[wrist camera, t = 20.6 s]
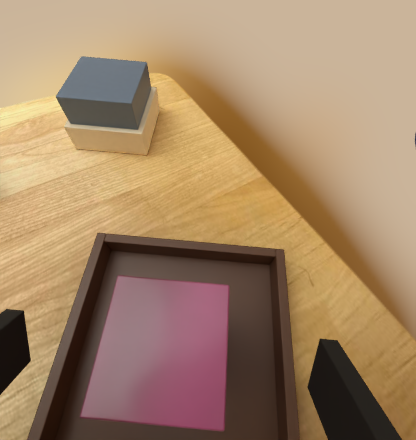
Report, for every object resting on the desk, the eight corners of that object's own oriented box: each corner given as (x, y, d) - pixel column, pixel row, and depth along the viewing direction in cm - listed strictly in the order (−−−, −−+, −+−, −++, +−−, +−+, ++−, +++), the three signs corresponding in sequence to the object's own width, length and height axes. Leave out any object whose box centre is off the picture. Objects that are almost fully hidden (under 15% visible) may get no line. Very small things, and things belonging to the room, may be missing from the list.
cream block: (159, 109, 31) (156, 87, 28) (147, 155, 27) (142, 133, 24) (98, 104, 31) (88, 81, 28) (76, 149, 27) (63, 127, 24)
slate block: (151, 89, 28) (146, 61, 25) (138, 130, 25) (131, 103, 22) (91, 83, 28) (81, 56, 25) (70, 124, 25) (55, 96, 22)
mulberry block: (215, 314, 18) (230, 284, 11) (211, 394, 16) (225, 432, 8) (150, 308, 18) (117, 274, 11) (136, 387, 16) (78, 419, 8)
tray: (275, 260, 21) (284, 249, 19) (290, 504, 14) (308, 532, 12) (107, 245, 21) (97, 232, 19) (35, 480, 14) (4, 504, 12)
